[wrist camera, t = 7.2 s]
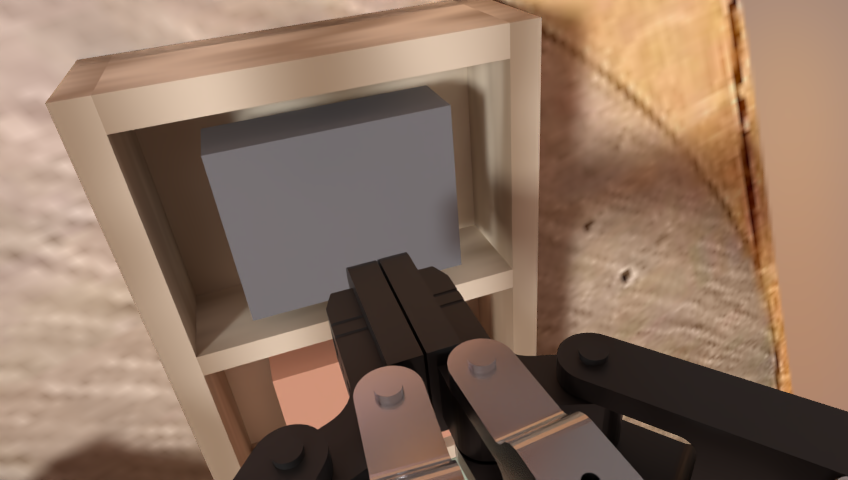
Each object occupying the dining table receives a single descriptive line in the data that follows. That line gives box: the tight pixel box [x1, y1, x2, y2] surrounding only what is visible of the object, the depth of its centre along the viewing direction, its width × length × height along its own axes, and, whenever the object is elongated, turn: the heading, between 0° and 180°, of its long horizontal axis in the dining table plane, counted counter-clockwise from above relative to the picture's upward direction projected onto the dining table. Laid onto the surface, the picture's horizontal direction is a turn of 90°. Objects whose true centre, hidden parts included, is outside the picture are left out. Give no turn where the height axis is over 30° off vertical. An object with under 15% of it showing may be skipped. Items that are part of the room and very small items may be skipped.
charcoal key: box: [201, 85, 461, 321], centre depth 18 cm, size 7×6×2 cm
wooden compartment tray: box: [45, 0, 542, 480], centre depth 24 cm, size 13×26×4 cm, turn 5°
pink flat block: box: [269, 339, 451, 438], centre depth 23 cm, size 7×6×2 cm
